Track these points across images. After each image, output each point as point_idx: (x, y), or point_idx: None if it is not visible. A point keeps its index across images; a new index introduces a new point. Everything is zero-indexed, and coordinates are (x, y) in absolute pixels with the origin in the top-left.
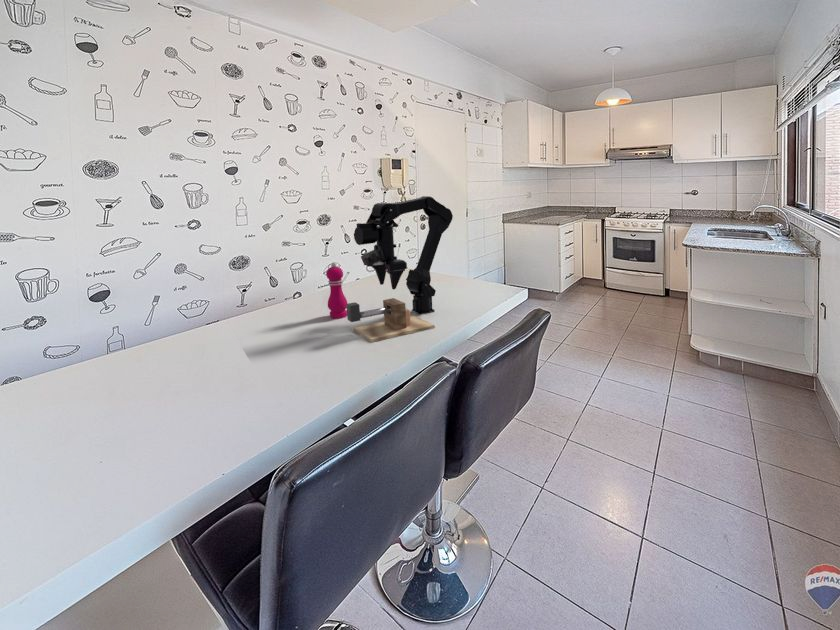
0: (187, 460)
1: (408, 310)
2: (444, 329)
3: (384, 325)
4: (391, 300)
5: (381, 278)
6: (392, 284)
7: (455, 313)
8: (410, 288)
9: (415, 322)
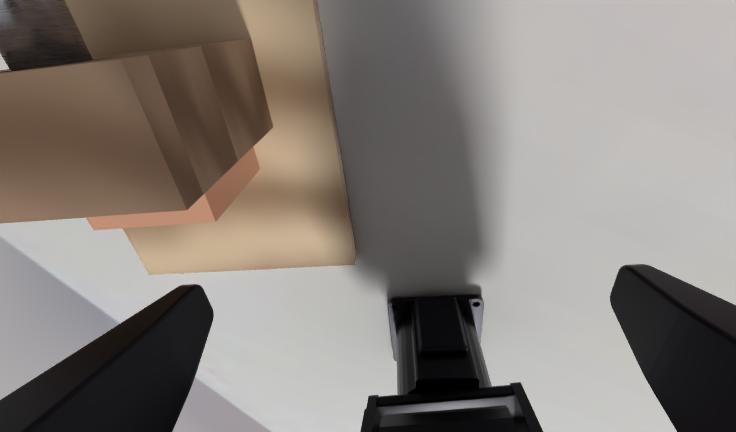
0: None
1: (90, 220)
2: (127, 285)
3: (218, 24)
4: (76, 149)
5: (708, 380)
6: (91, 345)
7: (326, 390)
8: (470, 423)
9: (218, 222)
